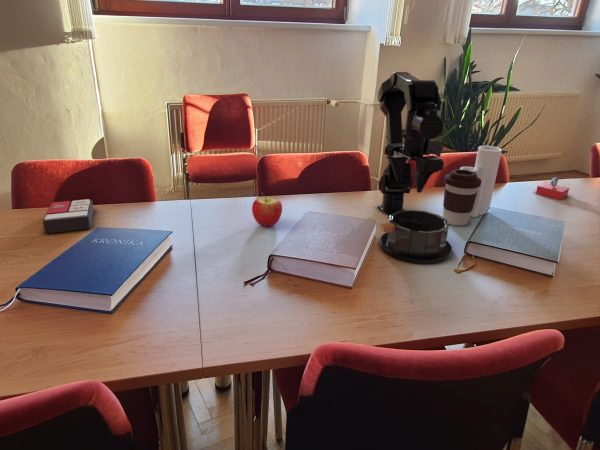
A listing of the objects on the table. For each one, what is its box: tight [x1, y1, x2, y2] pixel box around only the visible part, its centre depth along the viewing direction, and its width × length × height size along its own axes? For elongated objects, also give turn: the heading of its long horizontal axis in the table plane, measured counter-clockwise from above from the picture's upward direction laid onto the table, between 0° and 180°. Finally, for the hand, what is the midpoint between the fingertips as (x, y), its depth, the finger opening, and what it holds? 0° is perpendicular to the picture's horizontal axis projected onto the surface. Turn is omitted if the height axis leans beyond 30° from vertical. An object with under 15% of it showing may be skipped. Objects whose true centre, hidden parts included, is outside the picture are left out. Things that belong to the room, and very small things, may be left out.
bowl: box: [379, 209, 450, 256], centre depth 112 cm, size 17×14×6 cm
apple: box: [251, 191, 283, 227], centre depth 124 cm, size 8×8×10 cm
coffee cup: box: [442, 168, 481, 226], centre depth 128 cm, size 10×10×15 cm
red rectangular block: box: [535, 176, 570, 201], centre depth 154 cm, size 8×7×6 cm
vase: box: [459, 145, 503, 218], centre depth 134 cm, size 11×7×20 cm, turn 111°
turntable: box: [379, 232, 453, 265], centre depth 114 cm, size 18×18×1 cm
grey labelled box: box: [42, 198, 94, 234], centre depth 124 cm, size 11×4×15 cm
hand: (408, 187), depth 122 cm, fingers open, 9 cm apart
